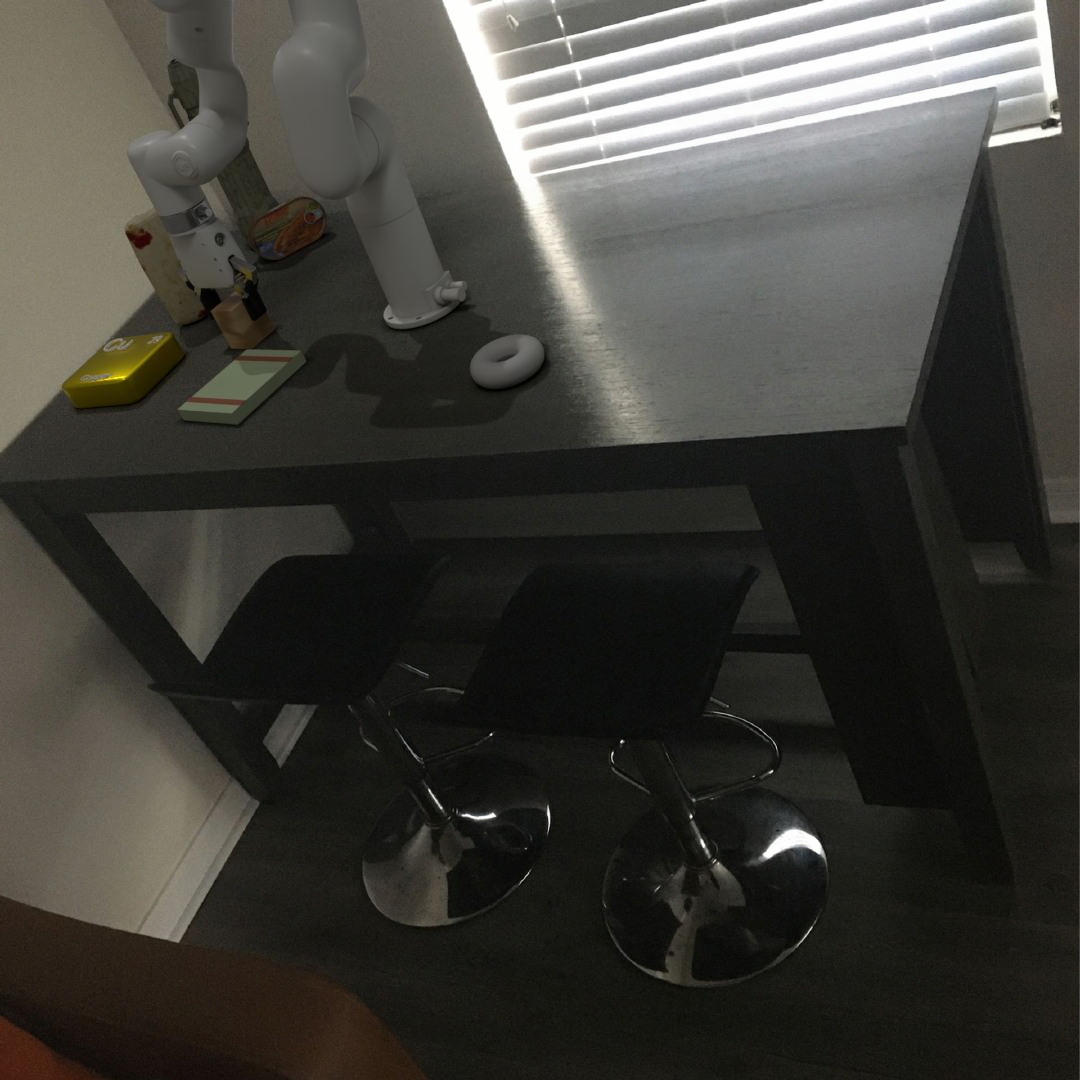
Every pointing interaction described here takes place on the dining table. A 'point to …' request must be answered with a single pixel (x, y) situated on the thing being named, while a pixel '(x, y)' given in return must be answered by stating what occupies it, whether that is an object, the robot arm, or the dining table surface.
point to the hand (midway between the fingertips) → (239, 316)
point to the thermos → (241, 173)
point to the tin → (287, 227)
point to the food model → (163, 267)
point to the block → (240, 323)
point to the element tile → (123, 370)
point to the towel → (242, 386)
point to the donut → (507, 361)
